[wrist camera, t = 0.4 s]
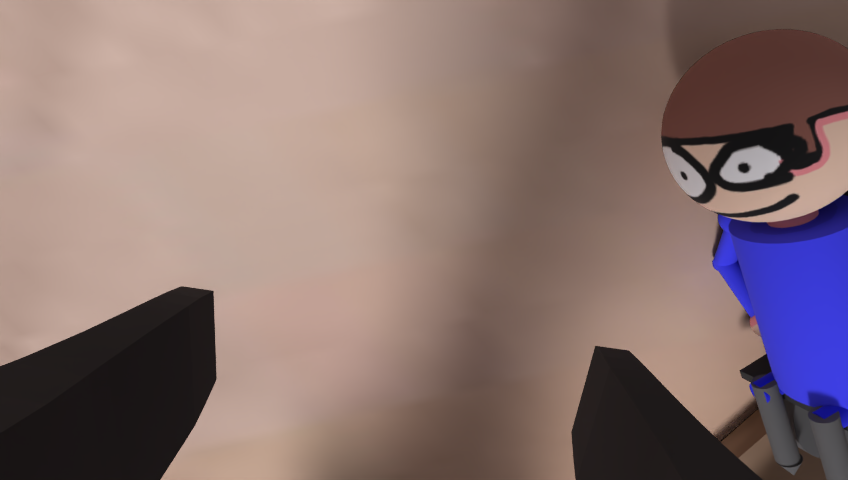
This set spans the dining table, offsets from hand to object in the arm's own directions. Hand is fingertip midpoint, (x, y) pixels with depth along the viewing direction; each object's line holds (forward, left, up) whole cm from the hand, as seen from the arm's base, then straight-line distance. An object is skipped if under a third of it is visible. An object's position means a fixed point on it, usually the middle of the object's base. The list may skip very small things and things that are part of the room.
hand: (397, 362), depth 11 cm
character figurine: (+7, -10, -11) cm, 16 cm away
